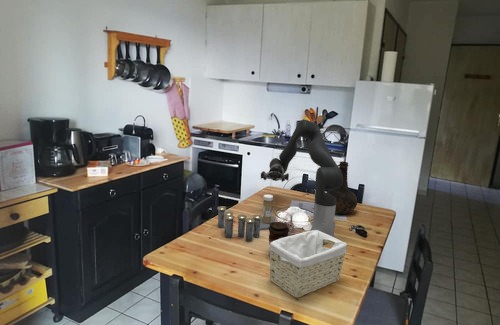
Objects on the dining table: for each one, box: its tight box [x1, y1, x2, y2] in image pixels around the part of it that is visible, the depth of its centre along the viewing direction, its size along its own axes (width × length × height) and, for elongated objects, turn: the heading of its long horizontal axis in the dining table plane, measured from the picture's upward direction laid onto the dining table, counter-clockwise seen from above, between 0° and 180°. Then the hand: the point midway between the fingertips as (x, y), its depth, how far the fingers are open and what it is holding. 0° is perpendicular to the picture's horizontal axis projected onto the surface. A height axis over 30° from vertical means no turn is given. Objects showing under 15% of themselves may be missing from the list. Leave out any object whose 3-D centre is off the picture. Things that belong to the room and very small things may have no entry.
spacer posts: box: [216, 205, 263, 243], centre depth 166 cm, size 21×16×10 cm
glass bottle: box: [325, 161, 358, 215], centre depth 200 cm, size 18×18×28 cm
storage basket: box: [268, 229, 348, 298], centre depth 128 cm, size 24×16×15 cm
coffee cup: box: [268, 221, 290, 256], centre depth 147 cm, size 9×8×13 cm
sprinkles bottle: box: [261, 194, 274, 223], centre depth 178 cm, size 5×5×13 cm
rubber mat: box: [252, 215, 276, 231], centre depth 179 cm, size 13×13×1 cm
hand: (273, 179), depth 182 cm, fingers open, 8 cm apart
